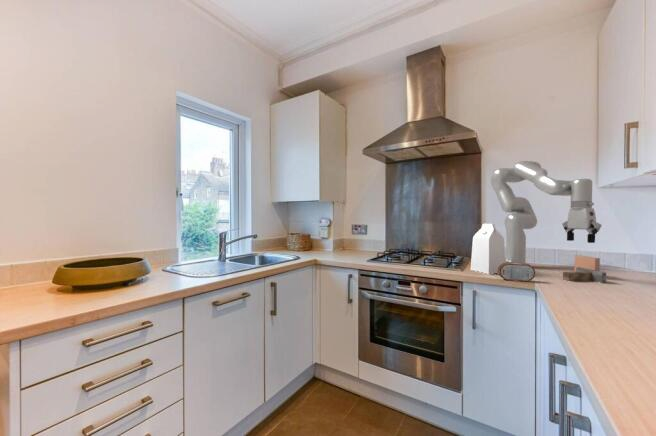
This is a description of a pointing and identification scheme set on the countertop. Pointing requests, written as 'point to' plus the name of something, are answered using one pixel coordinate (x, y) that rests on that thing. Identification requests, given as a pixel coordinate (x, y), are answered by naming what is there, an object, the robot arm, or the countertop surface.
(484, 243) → the milk
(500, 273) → the tin
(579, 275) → the brown angular block
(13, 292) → the countertop surface
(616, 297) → the countertop surface
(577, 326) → the countertop surface
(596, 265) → the tile
